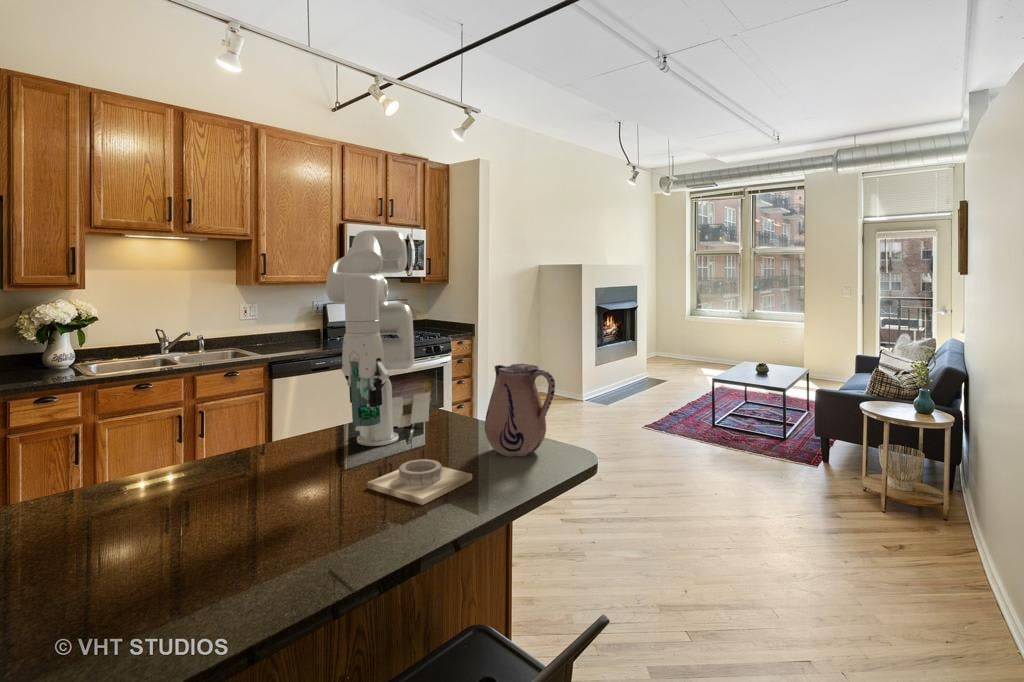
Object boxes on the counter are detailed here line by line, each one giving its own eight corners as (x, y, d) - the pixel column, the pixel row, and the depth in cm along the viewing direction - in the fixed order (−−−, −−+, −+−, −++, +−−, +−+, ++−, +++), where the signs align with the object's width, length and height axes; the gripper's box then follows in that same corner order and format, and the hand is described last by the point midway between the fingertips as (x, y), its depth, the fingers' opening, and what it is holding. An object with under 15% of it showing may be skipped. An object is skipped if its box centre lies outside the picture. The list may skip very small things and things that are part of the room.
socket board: (367, 488, 134) (366, 470, 133) (419, 466, 149) (419, 450, 148) (422, 505, 124) (422, 485, 123) (472, 479, 139) (472, 462, 138)
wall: (435, 434, 191) (435, 399, 201) (429, 420, 185) (429, 385, 195) (389, 441, 192) (391, 406, 202) (381, 428, 186) (384, 392, 196)
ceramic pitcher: (499, 440, 171) (498, 360, 168) (565, 448, 163) (565, 364, 160) (474, 458, 155) (473, 369, 152) (546, 467, 147) (546, 374, 144)
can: (366, 427, 127) (363, 363, 125) (347, 423, 130) (344, 360, 128) (385, 421, 132) (382, 359, 130) (366, 417, 135) (364, 357, 133)
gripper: (325, 327, 130) (329, 402, 132) (375, 331, 120) (378, 412, 122) (351, 324, 136) (355, 396, 138) (401, 328, 126) (403, 405, 128)
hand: (366, 403), depth 130 cm, fingers closed on can, 6 cm apart
